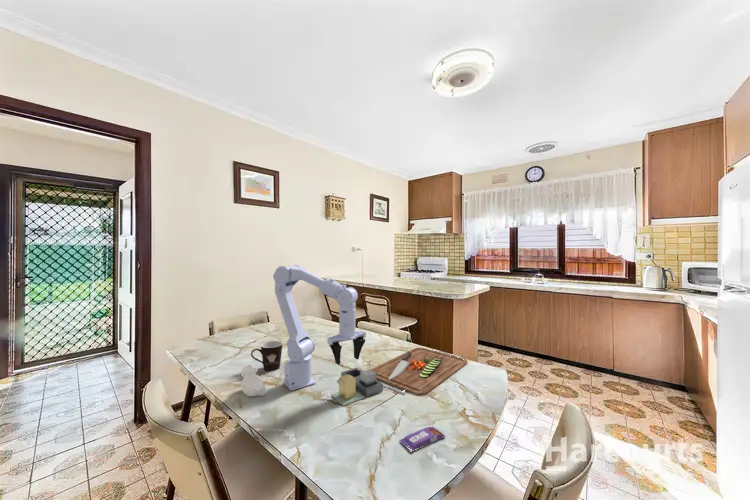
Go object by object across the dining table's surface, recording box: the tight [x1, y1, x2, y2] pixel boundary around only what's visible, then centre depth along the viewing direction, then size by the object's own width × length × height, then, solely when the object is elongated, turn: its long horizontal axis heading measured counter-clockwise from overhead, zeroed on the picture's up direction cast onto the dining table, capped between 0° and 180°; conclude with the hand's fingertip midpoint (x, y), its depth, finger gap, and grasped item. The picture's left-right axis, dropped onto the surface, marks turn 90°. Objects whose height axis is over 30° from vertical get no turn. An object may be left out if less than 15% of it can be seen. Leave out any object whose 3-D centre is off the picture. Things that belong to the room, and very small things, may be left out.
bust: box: [240, 364, 267, 398], centre depth 96 cm, size 12×8×11 cm
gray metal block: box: [360, 368, 376, 387], centre depth 99 cm, size 4×4×6 cm
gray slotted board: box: [340, 367, 384, 398], centre depth 103 cm, size 7×17×2 cm, turn 37°
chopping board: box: [370, 347, 468, 396], centre depth 118 cm, size 45×27×3 cm, turn 139°
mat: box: [330, 390, 365, 407], centre depth 94 cm, size 8×8×1 cm
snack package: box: [399, 426, 446, 452], centre depth 73 cm, size 12×2×5 cm
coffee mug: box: [250, 340, 283, 372], centre depth 118 cm, size 12×9×10 cm
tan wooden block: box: [338, 374, 357, 400], centre depth 94 cm, size 4×4×6 cm
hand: (347, 360), depth 99 cm, fingers open, 7 cm apart
